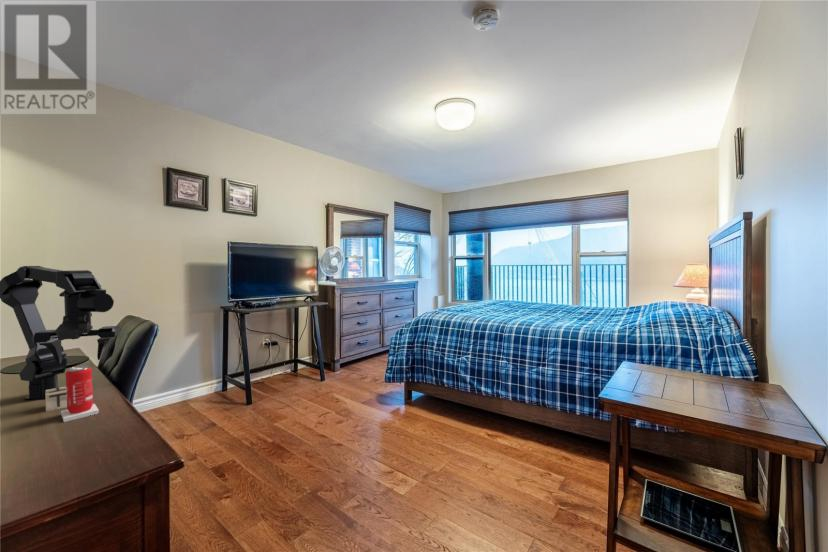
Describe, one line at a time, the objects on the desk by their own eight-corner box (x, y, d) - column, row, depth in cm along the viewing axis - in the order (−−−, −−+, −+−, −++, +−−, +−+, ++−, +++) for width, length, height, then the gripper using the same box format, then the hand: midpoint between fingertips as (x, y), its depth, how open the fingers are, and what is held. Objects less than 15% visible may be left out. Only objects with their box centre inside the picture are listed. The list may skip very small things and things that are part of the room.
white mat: (61, 414, 97) (60, 411, 97) (94, 406, 102) (94, 403, 102) (63, 422, 93) (63, 418, 92) (98, 413, 98) (98, 410, 98)
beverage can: (77, 415, 94) (75, 371, 94) (62, 413, 96) (60, 370, 95) (98, 407, 100) (96, 366, 99) (83, 405, 101) (82, 365, 100)
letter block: (46, 406, 103) (45, 389, 102) (70, 401, 106) (69, 385, 106) (46, 412, 99) (45, 394, 99) (70, 406, 103) (70, 389, 102)
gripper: (20, 317, 95) (22, 373, 96) (107, 312, 103) (109, 364, 104) (41, 311, 105) (43, 362, 106) (119, 308, 113) (121, 355, 114)
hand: (79, 361), depth 107 cm, fingers open, 9 cm apart
